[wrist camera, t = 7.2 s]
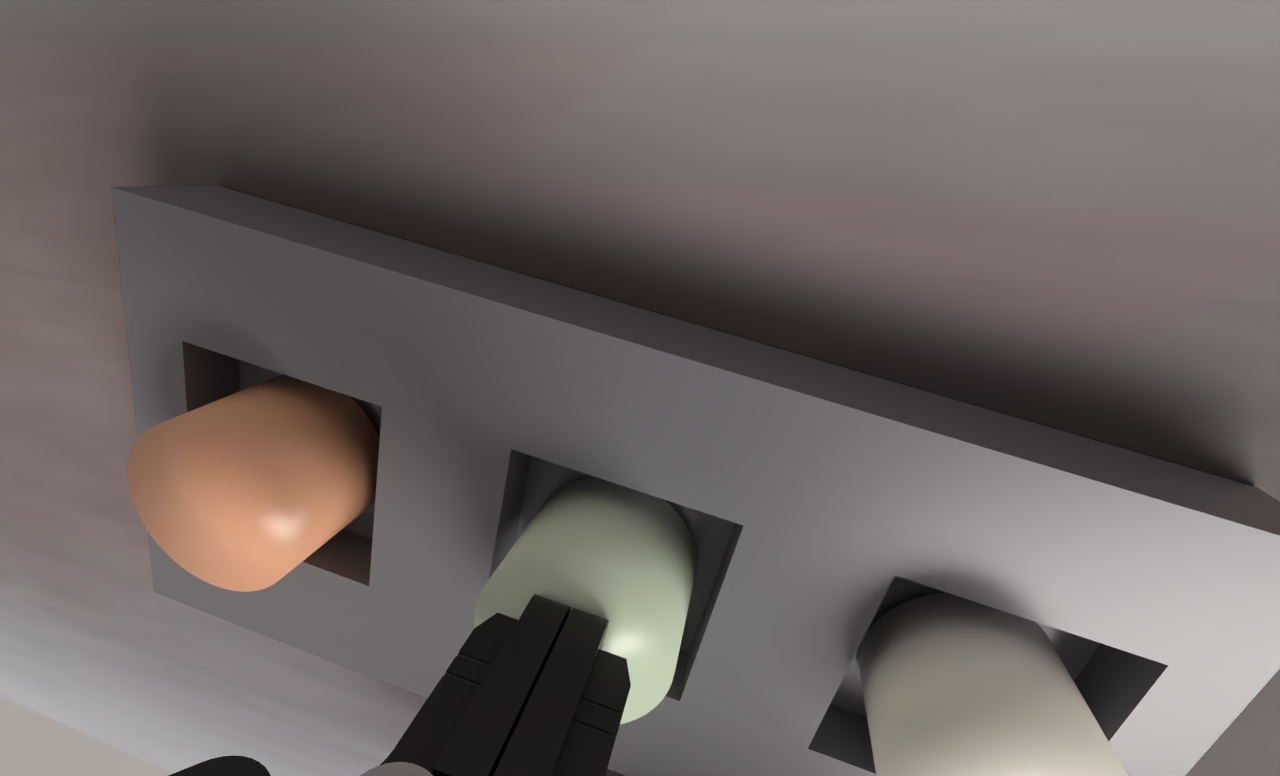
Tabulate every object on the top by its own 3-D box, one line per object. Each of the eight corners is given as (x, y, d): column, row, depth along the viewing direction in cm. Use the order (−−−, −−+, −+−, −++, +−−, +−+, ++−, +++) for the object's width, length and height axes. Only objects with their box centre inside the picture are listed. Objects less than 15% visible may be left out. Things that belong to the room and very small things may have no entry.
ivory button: (1094, 631, 12) (1187, 766, 9) (1005, 760, 14) (1062, 909, 11) (899, 567, 13) (933, 678, 10) (833, 699, 14) (846, 827, 11)
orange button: (391, 401, 14) (296, 457, 11) (380, 537, 16) (294, 616, 13) (243, 354, 14) (118, 396, 12) (247, 489, 16) (136, 556, 13)
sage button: (717, 510, 13) (701, 600, 10) (672, 644, 15) (647, 753, 12) (547, 454, 14) (488, 526, 11) (521, 589, 15) (463, 682, 12)
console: (1257, 487, 12) (1372, 563, 10) (1003, 828, 16) (1041, 937, 14) (216, 185, 15) (111, 186, 12) (230, 541, 19) (153, 592, 17)
